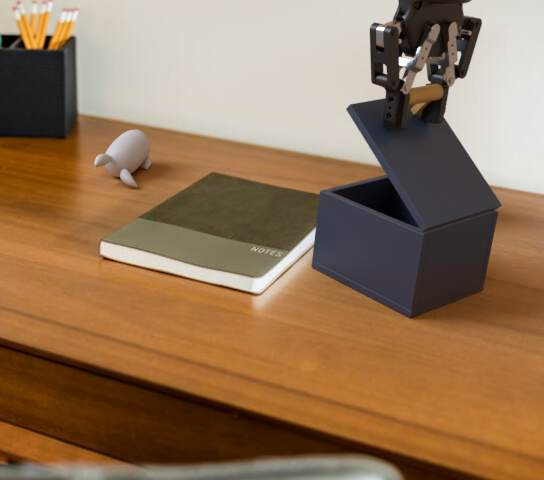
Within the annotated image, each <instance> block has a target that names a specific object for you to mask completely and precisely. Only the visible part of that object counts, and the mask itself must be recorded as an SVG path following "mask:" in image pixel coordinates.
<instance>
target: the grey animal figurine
mask: <svg viewBox="0 0 544 480" xmlns="http://www.w3.org/2000/svg"><path fill="white" fill-rule="evenodd" d="M150 151H151V141H150V139H149V137H148V136H147V134H146V133H144V132H143V131H141V130H139V129H130V130H126V131H124V132H123V133H122V134H120V135H119V136H118V137H117V138H116V139H115V140H114V141H112V143H110V145H109V147H108V148H107V149H106V151H105V153H101V154H98V155H96V157H95V158H94V164H93V165H94V167H95V168H101V167H104V168H105V170H106V171H107V172H108V173H109V174H111V176H113V177H115V178H120V180H121V181H122V182H123V183H124V184H126V185H127V186H130V187H132V188H137V187H138V185H137V182H136V181H135V179H134V178H133V175H132V174H133V173H134V172H135V171H136V170H137V169H138V168H141V169H144V170H146V171H147V170H148V169H149V168H150V167H151V166H152V160H151V157H150Z"/></svg>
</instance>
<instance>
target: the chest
mask: <svg viewBox="0 0 544 480" xmlns="http://www.w3.org/2000/svg"><path fill="white" fill-rule="evenodd" d="M498 216H499V211H498V210H493V211H490V212H486V213H483V214H480V215H477V216H473V217H470V218H467V219H464V220H461V221H457V222H454V223H451V224H448V225H444V226H441V227H438V228H435V229H432V230H428V231H425V232H422V231H421V230H420V228H419V226H418V224H417V223H416V221H415V220H414V218H413V216H412V215H411V213H410V212H409V210H408V208H407V207H406V205H405V204H404V202H403V200H402V199H401V197H400V195H399V194H398V192H397V191H396V189H395V187H394V186H393V184H392V183H391V181H390V179H389V178H388V176H387V175H386V174H383V175H379V176H375V177H370V178H367V179H363V180H357V181H355V182H351V183H347V184H342V185H339V186H335V187H330V188H327V189H321V190H319V197H318V205H317V215H316V223H315V231H314V232H315V233H314V241H313V250H312V259H311V268H312V269H314V270H316V271H317V272H319V273H322V274H323V275H325V276H327V277H329V278H331V279H333V280H335V281H337V282H339V283H341V284H343V285H345V286H347V287H349V288H351V289H352V290H354V291H356V292H358V293H360V294H363V295H364V296H366V297H368V298H371V299H372V300H374V301H376V302H378V303H379V304H382V305H383V306H385V307H387V308H389V309H391V310H393V311H395V312H397V313H399V314H401V315H403V316H405V317H406V318H408V319H412V318H415V317H417V316H420V315H422V314H426V313H427V312H431V311H433V310H435V309H438V308H441V307H443V306H446V305H448V304H451V303H453V302H456V301H459V300H461V299H464V298H466V297H469V296H472V295H474V294H477V293H479V292H482V291H484V288H485V282H486V277H487V272H488V266H489V262H490V257H491V252H492V248H493V247H492V246H493V242H494V236H495V231H496V228H497V227H496V226H497V223H498ZM396 219H397V220H396ZM408 224H409V225H408ZM413 226H414V227H413ZM415 227H416V228H415ZM418 228H419V229H418Z"/></svg>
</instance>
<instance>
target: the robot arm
mask: <svg viewBox="0 0 544 480" xmlns="http://www.w3.org/2000/svg"><path fill="white" fill-rule="evenodd" d="M397 1H398V5H397V8H396V11H395V13H394V16H392V20H391V21H388V22H385V23H379V22H373V23H372V24H371V25H370V26H369V55H370V81H371V83H372V85H376V86H379V87H381V88H383V89H384V90H385V104H384V113H383V123H384V126H385V128H387V129H390V130H393V131H397V132H398V131H403V130H404V129H405V128H406V121H407V114H408V107H409V100H410V94H408V93H409V91H410V89H411V88H413V84H414V81H415V79H416V76H417V74H418V73H421V72H422V71H423V69H424V68H425V67H426V72H427V73H426V76H427V82H429V83H425V86H426V85H432V84H439V85H441V86H442V88H443V96H442V98H441V99H439V100H435V101H431V102H430V103H429V104H428V105H427V106H426V107H425V108H424V109H423V110H422V114H421V118H422V119H423V121H426V122H429V123H432V124H438V123H441V122H442V121H443V117H444V118H445V114H446V112H447V111H446V110H447V105H448V104H447V103H448V97H449V93H450V92H449V90H450V88H451V87H453V86H454V84H455V81H457V80H458V79H462V80H463V79H465V78H466V76H467V75H468V71H469V69H470V65H471V61H472V58H473V55H474V52H475V48H476V45H477V42H478V38H479V35H480V32H481V29H482V25H483V21H482V19H481V18H479V17H474V16H471V15H465V14H464V7H463V6H464V4H468V3H470V2H472V0H397ZM458 52H459V53H460V57H458ZM403 54H404V56H405V57H403ZM406 57H407V58H406ZM408 57H409V58H411V59H408ZM458 58H459V60H458ZM457 62H458V63H457ZM456 63H457V64H456ZM384 66H385V67H386V73H384ZM402 69H404V72H403V75H402V77H400V72H401V70H402Z"/></svg>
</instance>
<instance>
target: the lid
mask: <svg viewBox="0 0 544 480" xmlns="http://www.w3.org/2000/svg"><path fill="white" fill-rule="evenodd" d="M408 94H410V100H409V107H408V114H407V121H406V128H405V129H404V130H403V131H398V132H397V131H393V130H390V129H387V128H385V126H384V123H383V113H384V104H385V98H379V99H372V100H367V101H361V102H355V103H350V104H349V105H348V106H347V107H346V109H345V110H346V112H347V113H348V115H349V116H350V118H351V120H352V122H353V123H354V125H355V126H356V128H357V129H358V131H359V133H360V134H361V136H362V137H363V140H364V141H365V142H366V144H367V146H368V147H369V149H370V151H371V152H372V154H373V155H374V157H375V159H376V160H377V162H378V163H379V165H380V167H381V168H382V170H383V171H384V174H385V175H387V176H388V178H389V179H390V181H391V183H392V184H393V186H394V187H395V189H396V191H397V192H398V194H399V195H400V197H401V199H402V200H403V202H404V204H405V205H406V207H407V208H408V210H409V212H410V213H411V215H412V216H413V218H414V220H415V221H416V223H417V224H418V226H419V228H420V229H421V231H422V232H425V231H428V230H432V229H435V228H438V227H441V226H444V225H448V224H451V223H454V222H457V221H461V220H464V219H467V218H470V217H473V216H477V215H480V214H483V213H486V212H490V211H493V210H495V211H497V210H498V209H499V208H501V207H503V206H502V205H503V204H502V203H501V201H500V200H499V198H498V197H497V195H496V194H495V192H494V191H493V189H492V188H491V186H490V185H489V183H488V181H487V180H486V179H485V177H484V175H483V174H482V173H481V171H480V169H479V168H478V166H477V165H476V164H475V162H474V160H473V159H472V157H471V156H470V154H469V153H468V151H467V150H466V148H465V146H464V145H463V144H462V142H461V141H460V139H459V137H458V136H457V135H456V133H455V132H454V130H453V129H452V127H451V126H450V124H449V122H448V121H447V119H446V118H445V116H444V117H443V121H442V122H441V123H438V124H432V123H429V122H426V121H423V119H422V118H421V114H422V110H423V109H424V108H425V107H426V106H427V105H428V104H429V103H430V102H431V101H435V100H439V99H441V98H442V96H443V88H442V86H441V85H439V84H432V85H426V84H425V85H422V86H414V87H411V89H410V91H409V93H408Z"/></svg>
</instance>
